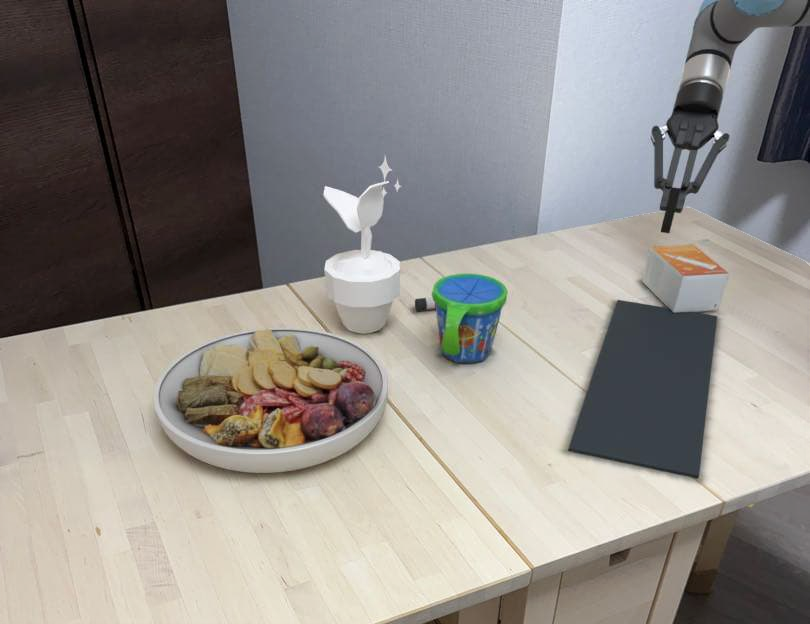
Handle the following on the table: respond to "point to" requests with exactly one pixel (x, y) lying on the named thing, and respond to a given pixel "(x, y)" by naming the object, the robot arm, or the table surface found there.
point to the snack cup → (468, 315)
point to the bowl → (271, 399)
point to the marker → (425, 304)
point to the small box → (684, 278)
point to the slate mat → (649, 390)
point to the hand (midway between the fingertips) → (665, 228)
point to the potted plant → (362, 262)
